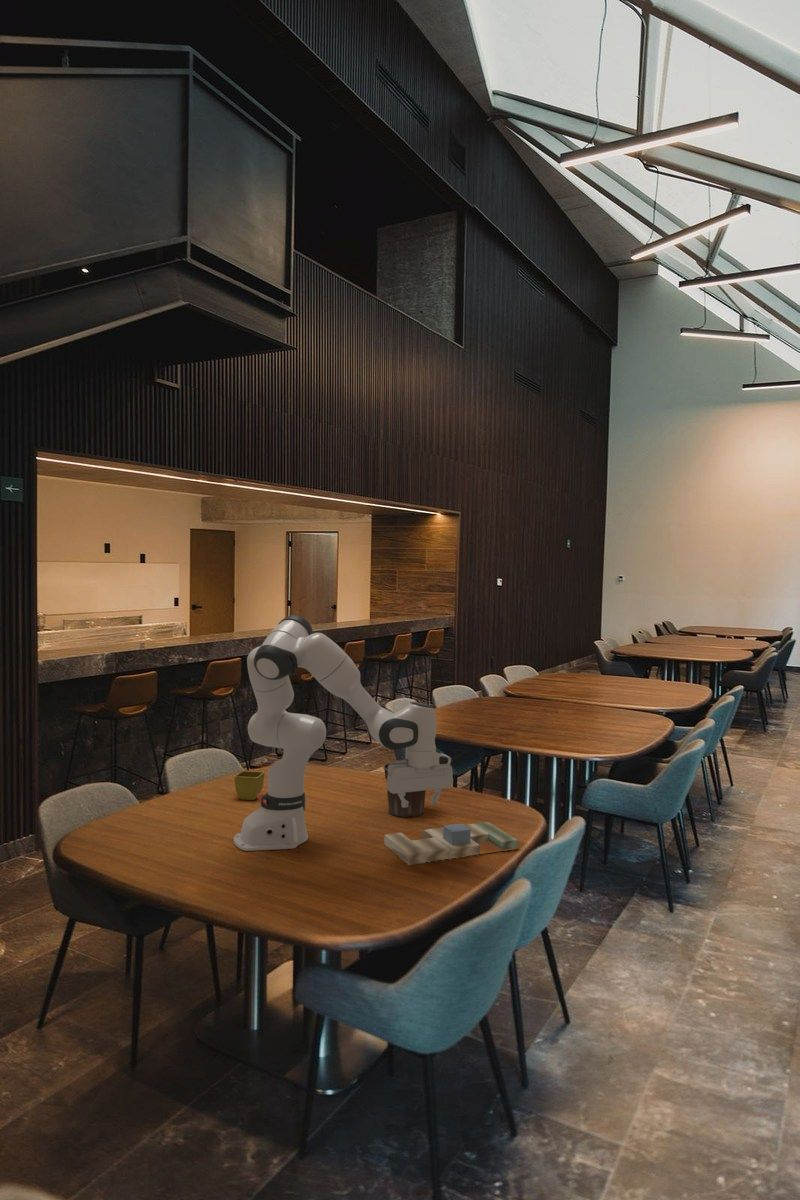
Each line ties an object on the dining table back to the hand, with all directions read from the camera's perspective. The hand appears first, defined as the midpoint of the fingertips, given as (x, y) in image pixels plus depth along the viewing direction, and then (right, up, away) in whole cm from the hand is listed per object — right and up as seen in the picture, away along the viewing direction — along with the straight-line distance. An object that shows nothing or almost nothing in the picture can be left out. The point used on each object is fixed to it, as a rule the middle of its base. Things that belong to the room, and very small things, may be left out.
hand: (419, 805), depth 222 cm
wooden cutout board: (+10, -15, +9) cm, 20 cm away
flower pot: (-60, -12, +54) cm, 82 cm away
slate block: (+11, -12, +5) cm, 17 cm away
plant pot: (-4, -14, +42) cm, 44 cm away
